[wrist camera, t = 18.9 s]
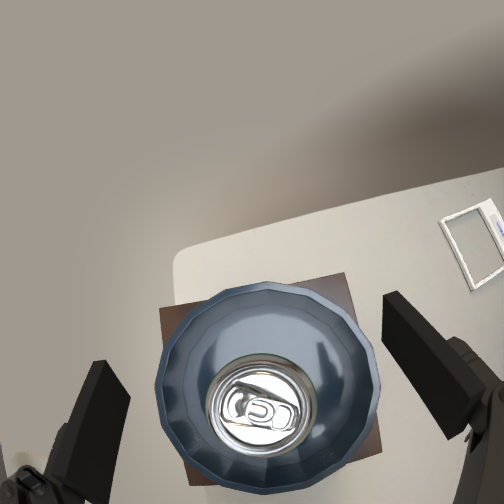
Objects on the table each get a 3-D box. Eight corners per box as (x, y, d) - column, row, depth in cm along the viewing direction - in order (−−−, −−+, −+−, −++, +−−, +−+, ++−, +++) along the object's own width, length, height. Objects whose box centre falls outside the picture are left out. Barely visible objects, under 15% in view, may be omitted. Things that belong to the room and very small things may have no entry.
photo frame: (521, 256, 42) (474, 289, 41) (518, 258, 43) (471, 291, 42) (491, 197, 47) (440, 219, 46) (488, 200, 48) (438, 221, 48)
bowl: (196, 477, 19) (178, 499, 15) (168, 316, 25) (144, 303, 21) (371, 447, 19) (392, 463, 14) (337, 283, 25) (350, 263, 20)
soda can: (247, 351, 23) (218, 336, 12) (308, 367, 22) (336, 368, 11) (229, 408, 21) (184, 443, 10) (290, 425, 20) (300, 477, 9)
